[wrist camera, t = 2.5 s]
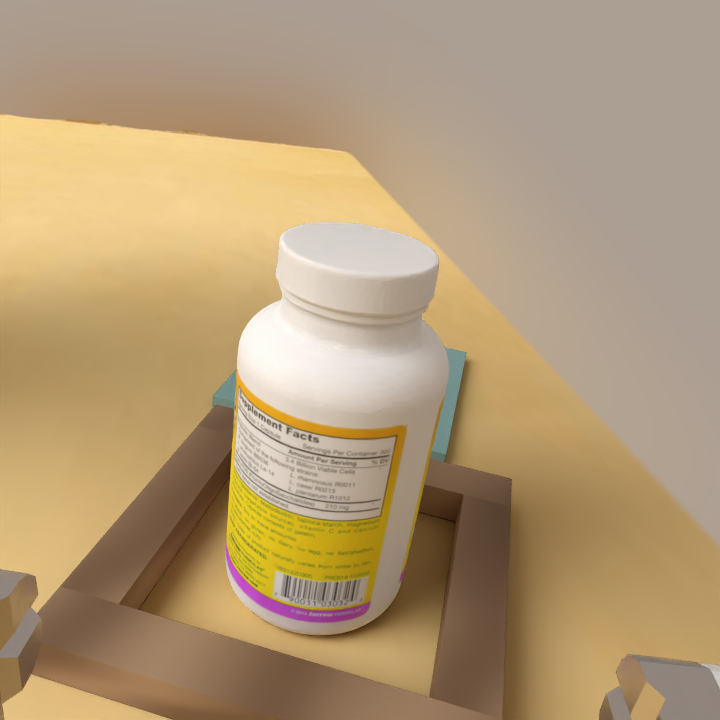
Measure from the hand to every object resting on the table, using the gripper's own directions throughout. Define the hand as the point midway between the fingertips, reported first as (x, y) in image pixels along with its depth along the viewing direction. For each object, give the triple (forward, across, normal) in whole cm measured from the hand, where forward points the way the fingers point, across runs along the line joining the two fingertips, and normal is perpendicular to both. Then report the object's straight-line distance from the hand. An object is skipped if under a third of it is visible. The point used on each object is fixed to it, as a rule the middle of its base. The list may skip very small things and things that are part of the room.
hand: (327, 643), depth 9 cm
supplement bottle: (+12, 0, +11) cm, 17 cm away
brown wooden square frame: (+12, 0, +11) cm, 17 cm away
